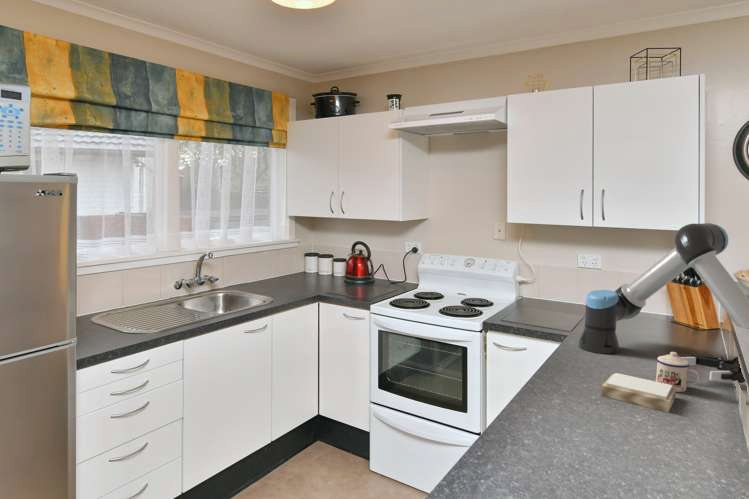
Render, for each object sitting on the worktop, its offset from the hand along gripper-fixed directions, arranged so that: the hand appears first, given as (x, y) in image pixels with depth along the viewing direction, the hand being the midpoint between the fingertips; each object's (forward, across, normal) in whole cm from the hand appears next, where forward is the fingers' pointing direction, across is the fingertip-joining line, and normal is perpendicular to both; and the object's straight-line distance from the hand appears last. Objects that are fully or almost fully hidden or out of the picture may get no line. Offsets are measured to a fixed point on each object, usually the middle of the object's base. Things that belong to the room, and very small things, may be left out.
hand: (693, 368), depth 159 cm
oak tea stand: (+22, -4, -7) cm, 24 cm away
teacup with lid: (+5, +1, -7) cm, 9 cm away
